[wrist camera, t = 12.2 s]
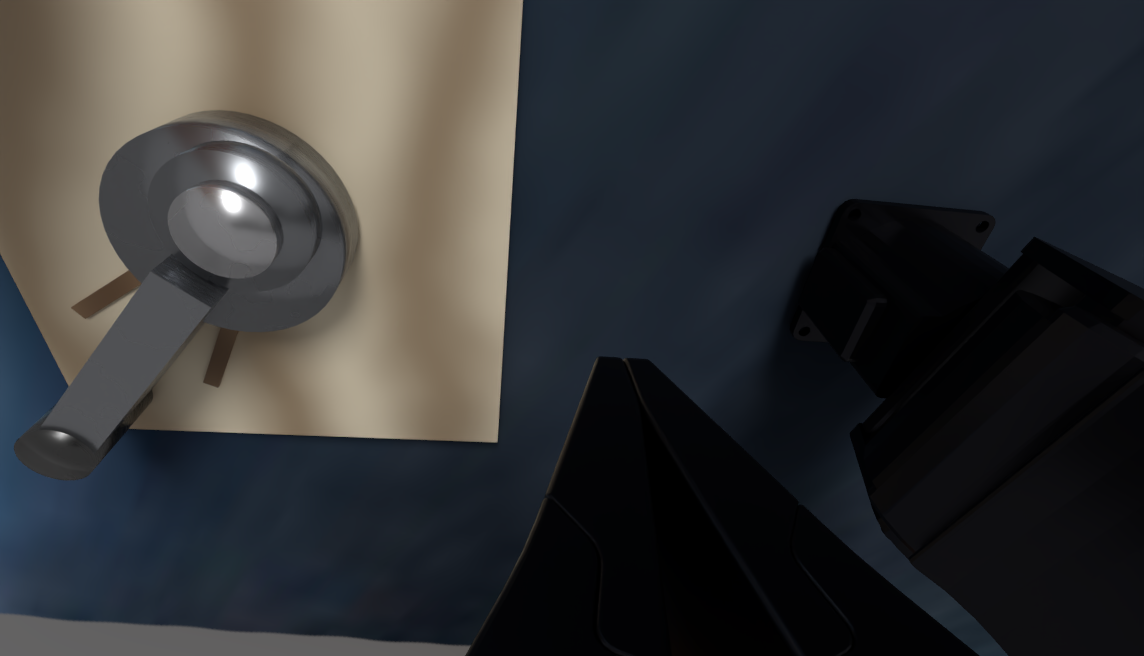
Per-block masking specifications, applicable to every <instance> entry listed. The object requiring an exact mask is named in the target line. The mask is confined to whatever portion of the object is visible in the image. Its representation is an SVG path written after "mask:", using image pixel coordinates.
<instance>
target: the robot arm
mask: <svg viewBox="0 0 1144 656" xmlns="http://www.w3.org/2000/svg"><path fill="white" fill-rule="evenodd" d="M854 209H856V212H855V213H854V215H852V216H851V217H848V214H849V213H850V212H851V211H852V210H854ZM981 222H982V223H981ZM979 223H981V224H980V226H979V227H977V228H976V226H977V225H978V224H979ZM994 226H995V219H994V217H993V216H991V215H989V214H987V213H986V212H983V211H974V210H963V209H953V208H943V207H932V206H922V205H912V204H901V203H891V202H881V201H870V200H860V199H850V200H848V201H845V202H844V203H843V204H842V205H841V206H840V207H839V209H838V211H837V213H836V216H835V218H834V221H833V223H832V225H831V228H830V230H829V233H828V235H827V238H826V240H825V243H824V245H823V247H822V250H821V251H820V252H819V253H818V255H817V257H816V259H815V262H814V264H813V267H812V269H811V272H810V274H809V277H808V279H807V282H806V284H805V286H804V289H803V291H802V294H801V296H800V299H799V302H798V303H799V306H798V308H797V311H796V313H795V316H794V318H793V321H792V323H791V325H790V331H791V333H792V335H793V336H794V338H796V339H797V340H800V341H815V342H828V343H829V344H830V345H831V346H832V348H833V349H834V350H835V352H836V353H837V354H838V355H839V357H840V358H841V359H842V360H843V361H844V362H850V363H851V364H852V366H853V367H854V368H855V369H856V371H857V372H858V373H859V374H860V376H861V377H862V378H863V379H864V381H865V382H866V383H867V384H868V386H869V387H870V388H871V390H872V391H873V392H874V393H875V395H876V396H877V397H880V398H886V399H885V401H884V402H883V403H882V404H881V405H880V406H879V407H878V408H877V409H876V410H875V411H874V412H873V413H872V414H871V415H870V416H869V417H868V418H867V420H866V421H865V422H864V423H863V424H862V423H859V424H858V425H857V426H856V427H855V428H854V429H853V430H852V431H851V432H850V437H851V441H852V444H853V447H854V450H855V454H856V457H857V460H858V463H859V467H860V470H861V473H862V476H863V480H864V483H865V486H866V489H867V493H868V496H869V499H870V502H871V506H872V509H873V511H874V514H875V516H876V519H877V521H878V522H879V524H880V527H881V530H882V532H883V533H884V534H885V536H886V537H887V538H888V539H890V540H891V541H892V542H893V544H894V545H895V546H896V547H897V548H898V549H899V550H900V551H901V552H902V553H903V554H904V555H905V556H906V557H907V558H908V560H909V561H910V563H911V564H912V565H913V566H914V567H915V568H916V569H917V570H919V571H920V572H921V573H922V574H924V575H925V576H926V577H928V578H929V579H930V580H932V581H933V582H934V583H936V584H937V585H938V586H940V587H941V588H942V589H943V590H945V591H946V592H947V593H948V594H949V595H950V596H951V597H953V598H954V599H955V600H956V601H957V602H958V603H959V604H960V605H961V606H962V607H963V608H964V609H965V610H966V611H968V612H969V613H970V614H971V615H972V616H973V617H974V618H975V619H976V620H977V621H978V622H979V623H980V624H981V625H982V627H983V628H984V629H985V630H986V631H987V632H988V633H989V634H990V635H991V636H992V637H993V638H994V640H995V641H996V642H997V643H998V644H999V645H1000V646H1001V648H1002V649H1003V650H1004V651H1005V652H1006V653H1007V654H1008V656H1144V289H1143V288H1141V287H1139V286H1137V285H1135V284H1133V283H1131V282H1129V281H1127V280H1125V279H1123V278H1121V277H1118V276H1116V275H1114V274H1112V273H1110V272H1108V271H1106V270H1104V269H1102V268H1099V267H1097V266H1095V265H1093V264H1091V263H1089V262H1087V261H1085V260H1083V259H1081V258H1078V257H1076V256H1074V255H1072V254H1070V253H1068V252H1066V251H1064V250H1062V249H1059V248H1057V247H1055V246H1053V245H1051V244H1049V243H1047V242H1045V241H1043V240H1041V239H1038V238H1036V237H1034V238H1033V239H1032V240H1031V241H1030V242H1029V243H1028V244H1027V245H1026V246H1025V247H1024V248H1023V249H1022V250H1021V252H1022V253H1023V255H1022V256H1021V257H1020V258H1019V259H1018V260H1017V261H1016V262H1015V263H1014V264H1013V265H1012V266H1011V267H1010V268H1007V267H1006V266H1004V265H1003V264H1001V263H1000V262H998V261H997V260H995V259H993V258H992V257H990V256H989V255H987V254H986V253H984V252H983V251H981V249H982V247H983V245H984V243H985V242H986V240H987V238H988V237H989V235H990V233H991V232H992V230H993V228H994ZM803 327H806V328H805V329H804V330H802V331H799V330H800V329H801V328H803ZM465 656H979V655H978V654H977V653H975V652H974V651H973V650H972V649H970V648H969V647H968V646H967V645H966V644H964V643H963V642H962V641H961V640H959V639H958V638H957V637H956V636H955V635H953V634H952V633H951V632H950V631H948V630H947V629H946V628H945V627H943V626H942V625H941V624H940V623H939V622H937V621H936V620H935V619H934V618H932V617H931V616H930V615H929V614H928V613H926V612H925V611H924V610H923V609H921V608H920V607H919V606H918V605H916V604H915V603H914V602H913V601H912V600H910V599H909V598H908V597H907V596H905V595H904V594H903V593H902V592H901V591H899V590H898V589H897V588H896V587H894V586H893V585H892V584H891V583H890V582H889V581H887V580H886V579H885V578H884V577H883V576H881V575H880V574H879V573H878V572H877V571H875V570H874V569H873V568H872V567H871V566H870V565H868V564H867V563H866V562H865V561H864V560H862V559H861V558H860V557H859V556H858V555H856V554H855V553H854V552H853V551H852V550H851V549H850V548H849V547H848V546H847V545H845V544H844V543H843V542H842V541H841V540H840V539H839V538H838V537H837V536H836V535H834V534H833V533H832V532H831V531H830V530H829V529H828V528H827V527H826V526H825V525H823V524H822V523H821V522H820V521H819V520H818V519H817V518H816V517H815V516H814V515H813V514H812V513H811V512H810V511H809V510H808V509H807V508H805V507H804V506H803V505H798V500H797V499H796V498H795V497H794V496H793V495H791V494H790V493H789V492H788V491H787V490H786V489H785V488H784V487H783V486H782V485H781V484H780V483H779V482H778V481H777V480H776V479H775V478H773V477H772V476H771V475H770V474H769V473H768V472H767V471H766V470H765V469H764V468H763V467H762V466H761V465H760V464H759V463H758V462H757V461H756V460H754V459H753V458H752V457H751V456H750V455H749V454H748V453H747V452H746V451H745V450H744V449H743V448H742V447H741V446H740V445H739V444H738V443H736V442H735V441H734V440H733V439H732V438H731V437H730V436H729V435H728V434H727V433H726V432H725V431H724V430H723V429H722V428H721V427H720V426H719V425H717V424H716V423H715V422H714V421H713V420H712V419H711V418H710V417H709V416H708V415H707V414H706V413H705V412H704V411H703V410H702V409H701V408H700V407H698V406H697V405H696V404H695V403H694V402H693V401H692V400H691V399H690V398H689V397H688V396H687V395H686V394H685V393H684V392H683V391H682V390H680V389H679V388H678V387H677V386H676V385H675V384H674V383H673V382H672V381H671V380H670V379H669V378H668V377H667V376H666V375H665V374H664V373H663V372H661V371H660V370H659V369H658V368H657V367H656V366H655V365H654V364H653V363H652V362H651V361H649V360H647V359H637V358H625V359H624V360H622V359H621V358H618V357H602V356H600V357H597V359H596V361H595V363H594V366H593V369H592V371H591V374H590V377H589V379H588V382H587V385H586V387H585V390H584V393H583V395H582V398H581V401H580V403H579V406H578V409H577V411H576V414H575V417H574V419H573V422H572V425H571V427H570V430H569V433H568V435H567V438H566V441H565V443H564V446H563V449H562V451H561V454H560V457H559V459H558V462H557V465H556V468H555V470H554V473H553V476H552V478H551V481H550V484H549V486H548V489H547V492H546V494H545V499H544V500H543V501H542V504H541V507H540V509H539V512H538V515H537V517H536V520H535V523H534V525H533V527H532V530H531V532H530V534H529V537H528V539H527V542H526V544H525V546H524V549H523V551H522V553H521V555H520V557H519V559H518V561H517V563H516V565H515V567H514V569H513V571H512V572H511V574H510V576H509V578H508V580H507V582H506V584H505V586H504V588H503V590H502V592H501V593H500V595H499V597H498V599H497V601H496V602H495V604H494V606H493V608H492V609H491V611H490V613H489V615H488V616H487V618H486V620H485V622H484V624H483V625H482V627H481V629H480V631H479V632H478V634H477V636H476V638H475V639H474V641H473V643H472V645H471V647H470V648H469V650H468V652H467V654H466V655H465Z"/></svg>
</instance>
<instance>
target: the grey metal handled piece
mask: <svg viewBox="0 0 1144 656" xmlns="http://www.w3.org/2000/svg"><path fill="white" fill-rule="evenodd" d="M99 207H100V215H101V219H102V222H103V226H104V229H105V232H106V234H107V236H108V239H109V241H110V243H111V245H112V246H113V248H114V250H115V252H116V253H117V255H118V257H119V258H120V259H121V261H122V262H123V263H124V265H125V266H126V267H127V269H128V270H129V271H130V272H131V273H132V274H133V275H134V276H135V278H136V279H137V280H138V281H139V282H141V283H142V284H141V285H140V287H139V288H138V290H137V291H136V293H135V294H134V295H133V297H132V298H131V300H130V301H129V302H128V304H127V305H126V307H125V308H124V310H123V311H122V312H121V314H120V315H119V317H118V318H117V319H116V321H115V322H114V324H113V325H112V326H111V328H110V329H109V331H108V332H107V334H106V335H105V336H104V338H103V339H102V341H101V342H100V343H99V345H98V346H97V348H96V349H95V351H94V352H93V353H92V355H91V356H90V358H89V359H88V360H87V362H86V363H85V365H84V366H83V367H82V369H81V370H80V372H79V373H78V375H77V376H76V377H75V379H74V380H73V382H72V383H71V384H70V386H69V387H68V389H67V390H66V392H65V393H64V394H63V396H62V397H61V399H60V400H59V401H58V403H57V404H55V405H54V406H53V407H52V408H51V409H50V410H49V411H48V412H47V413H46V414H45V415H44V416H43V417H41V418H40V419H39V420H38V421H37V422H36V423H35V424H34V425H33V426H32V427H31V428H30V429H29V430H28V431H26V432H25V433H24V434H23V435H22V436H21V437H20V438H19V439H18V440H17V441H16V443H15V445H14V451H15V454H16V456H17V457H18V459H19V460H20V461H21V462H22V463H23V464H24V465H25V466H27V467H28V468H30V469H31V470H33V471H35V472H37V473H39V474H41V475H44V476H47V477H50V478H54V479H59V480H78V479H82V478H84V477H86V476H88V475H89V474H90V473H91V472H92V471H93V470H94V469H95V467H96V466H97V465H98V464H99V463H100V462H101V460H102V459H103V458H104V457H105V456H106V455H107V453H108V452H109V451H110V450H111V449H112V448H113V446H114V445H115V444H116V443H117V442H118V441H119V439H120V438H121V437H122V436H123V435H124V434H125V433H126V431H127V430H128V429H129V428H130V427H131V426H132V424H133V423H134V422H135V421H136V420H137V419H138V417H139V416H140V415H141V414H142V413H143V412H144V410H145V409H146V408H147V407H148V406H149V405H150V404H151V402H152V400H153V391H152V388H153V387H154V386H155V385H156V383H157V382H158V381H159V380H160V378H161V377H162V376H163V375H164V373H165V372H166V371H167V370H168V368H169V367H170V366H171V365H172V363H173V362H174V361H175V360H176V359H177V357H178V356H179V355H180V354H181V352H182V351H183V350H184V349H185V347H186V346H187V345H188V344H189V342H190V341H191V340H192V339H193V337H194V336H195V335H196V334H197V332H198V331H199V330H200V329H201V327H202V326H203V325H204V324H205V323H208V324H211V325H214V326H217V327H221V328H226V329H230V330H236V331H244V332H271V331H277V330H283V329H287V328H290V327H293V326H296V325H299V324H301V323H303V322H305V321H307V320H309V319H310V318H312V317H313V316H315V315H316V314H317V313H319V312H320V311H321V310H322V309H323V308H324V307H325V306H326V305H327V303H328V302H329V301H330V299H331V298H332V297H333V295H334V293H335V292H336V290H337V288H338V286H339V285H340V283H341V281H342V280H343V278H344V276H345V275H346V273H347V271H348V270H349V268H350V266H351V264H352V262H353V260H354V257H355V254H356V250H357V244H358V223H357V216H356V212H355V209H354V205H353V202H352V200H351V198H350V195H349V193H348V191H347V189H346V187H345V186H344V184H343V182H342V180H341V179H340V177H339V176H338V175H337V173H336V172H335V170H334V169H333V168H332V166H331V165H330V164H329V163H328V162H327V161H326V160H325V159H324V158H323V157H322V155H321V154H319V153H318V152H317V151H316V150H315V149H314V148H313V147H312V146H310V145H309V144H308V143H307V142H305V141H304V140H302V139H301V138H300V137H298V136H297V135H296V134H294V133H292V132H290V131H289V130H287V129H285V128H283V127H282V126H280V125H277V124H275V123H273V122H271V121H268V120H266V119H263V118H260V117H257V116H254V115H251V114H246V113H241V112H236V111H226V110H210V111H200V112H196V113H191V114H188V115H185V116H182V117H180V118H177V119H175V120H172V121H170V122H168V123H166V124H163V125H161V126H159V127H157V128H154V129H152V130H150V131H148V132H145V133H143V134H141V135H139V136H137V137H135V138H133V139H132V140H130V141H128V142H127V143H125V144H124V145H123V146H122V147H121V148H120V149H119V150H118V151H116V153H115V154H114V155H113V157H112V158H111V159H110V161H109V162H108V164H107V166H106V168H105V170H104V172H103V174H102V179H101V183H100V187H99Z"/></svg>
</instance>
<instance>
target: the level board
mask: <svg viewBox="0 0 1144 656" xmlns="http://www.w3.org/2000/svg"><path fill="white" fill-rule="evenodd" d="M522 11H523V0H0V254H1V256H2V258H3V260H4V262H5V264H6V266H7V268H8V270H9V271H10V273H11V275H12V277H13V279H14V281H15V283H16V285H17V287H18V289H19V291H20V293H21V295H22V297H23V299H24V300H25V302H26V304H27V306H28V308H29V310H30V312H31V314H32V316H33V318H34V320H35V322H36V324H37V326H38V328H39V329H40V331H41V333H42V335H43V337H44V339H45V341H46V343H47V345H48V347H49V349H50V351H51V353H52V355H53V357H54V358H55V360H56V362H57V364H58V366H59V368H60V370H61V372H62V374H63V376H64V378H65V380H66V382H67V384H68V386H70V384H71V383H72V382H73V380H74V379H75V377H76V376H77V375H78V373H79V372H80V370H81V369H82V367H83V366H84V365H85V363H86V362H87V360H88V359H89V358H90V356H91V355H92V353H93V352H94V351H95V349H96V348H97V346H98V345H99V343H100V342H101V341H102V339H103V338H104V336H105V335H106V334H107V332H108V331H109V329H110V328H111V326H112V325H113V324H114V322H115V321H116V319H117V318H118V317H119V315H120V314H121V312H122V311H123V310H124V308H125V307H126V305H127V304H128V302H129V301H130V300H131V298H132V297H133V295H134V294H135V293H136V291H137V290H138V288H139V287H140V285H141V284H142V283H141V282H139V281H138V280H137V279H136V278H135V276H134V275H133V274H132V273H131V272H130V271H129V270H128V269H127V267H126V266H125V265H124V263H123V262H122V261H121V259H120V258H119V257H118V255H117V253H116V252H115V250H114V248H113V246H112V245H111V243H110V241H109V239H108V236H107V234H106V232H105V229H104V226H103V222H102V219H101V215H100V207H99V187H100V183H101V179H102V174H103V172H104V170H105V168H106V166H107V164H108V162H109V161H110V159H111V158H112V157H113V155H114V154H115V153H116V151H118V150H119V149H120V148H121V147H122V146H123V145H124V144H125V143H127V142H128V141H130V140H132V139H133V138H135V137H137V136H139V135H141V134H143V133H145V132H148V131H150V130H152V129H154V128H157V127H159V126H161V125H163V124H166V123H168V122H170V121H172V120H175V119H177V118H180V117H182V116H185V115H188V114H191V113H196V112H200V111H210V110H226V111H236V112H241V113H246V114H251V115H254V116H257V117H260V118H263V119H266V120H268V121H271V122H273V123H275V124H277V125H280V126H282V127H283V128H285V129H287V130H289V131H290V132H292V133H294V134H296V135H297V136H298V137H300V138H301V139H302V140H304V141H305V142H307V143H308V144H309V145H310V146H312V147H313V148H314V149H315V150H316V151H317V152H318V153H319V154H321V155H322V157H323V158H324V159H325V160H326V161H327V162H328V163H329V164H330V165H331V166H332V168H333V169H334V170H335V172H336V173H337V175H338V176H339V177H340V179H341V180H342V182H343V184H344V186H345V187H346V189H347V191H348V193H349V195H350V198H351V200H352V202H353V205H354V209H355V212H356V216H357V223H358V244H357V250H356V254H355V257H354V260H353V262H352V264H351V266H350V268H349V270H348V271H347V273H346V275H345V276H344V278H343V280H342V281H341V283H340V285H339V286H338V288H337V290H336V292H335V293H334V295H333V297H332V298H331V299H330V301H329V302H328V303H327V305H326V306H325V307H324V308H323V309H322V310H321V311H320V312H319V313H317V314H316V315H315V316H313V317H312V318H310V319H309V320H307V321H305V322H303V323H301V324H299V325H296V326H293V327H290V328H287V329H283V330H277V331H271V332H244V331H236V330H230V329H226V328H221V327H217V326H214V325H211V324H208V323H205V324H204V325H203V326H202V327H201V329H200V330H199V331H198V332H197V334H196V335H195V336H194V337H193V339H192V340H191V341H190V342H189V344H188V345H187V346H186V347H185V349H184V350H183V351H182V352H181V354H180V355H179V356H178V357H177V359H176V360H175V361H174V362H173V363H172V365H171V366H170V367H169V368H168V370H167V371H166V372H165V373H164V375H163V376H162V377H161V378H160V380H159V381H158V382H157V383H156V385H155V386H154V387H153V388H152V391H153V400H152V402H151V404H150V405H149V406H148V407H147V408H146V409H145V410H144V412H143V413H142V414H141V415H140V416H139V417H138V419H137V420H136V421H135V422H134V423H133V424H132V426H131V427H130V428H129V429H149V430H176V431H203V432H230V433H256V434H283V435H310V436H337V437H364V438H391V439H418V440H444V441H471V442H497V441H498V427H499V409H500V392H501V375H502V357H503V340H504V323H505V305H506V288H507V271H508V253H509V236H510V219H511V201H512V184H513V167H514V149H515V132H516V115H517V97H518V80H519V63H520V45H521V28H522Z"/></svg>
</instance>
